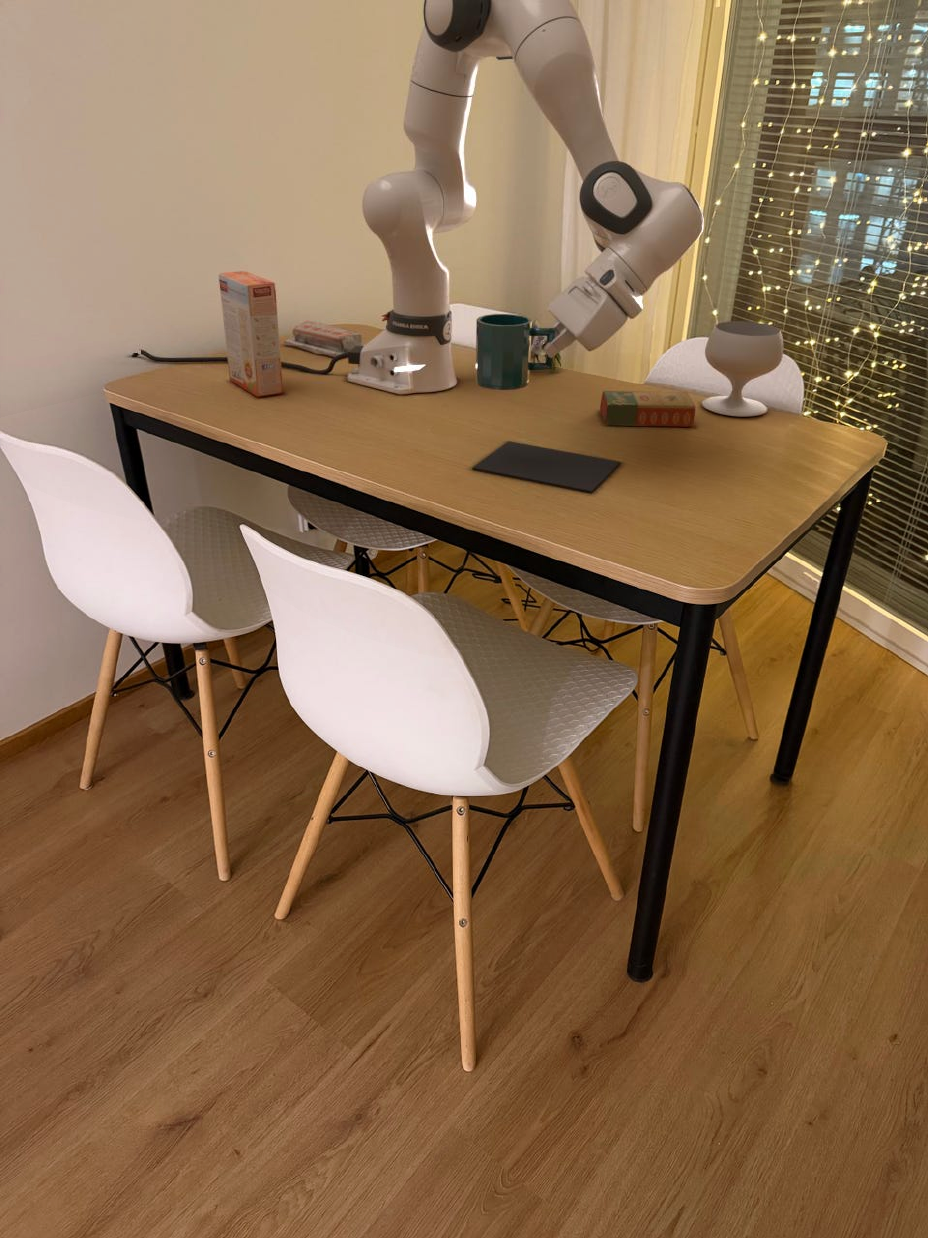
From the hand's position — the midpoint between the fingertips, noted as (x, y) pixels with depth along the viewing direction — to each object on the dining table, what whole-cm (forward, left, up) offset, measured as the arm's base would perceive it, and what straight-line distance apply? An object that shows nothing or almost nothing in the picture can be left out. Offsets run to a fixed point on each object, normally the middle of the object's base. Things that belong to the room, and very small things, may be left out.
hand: (544, 351), depth 140 cm
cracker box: (-65, +10, -18) cm, 68 cm away
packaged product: (-70, +42, -18) cm, 83 cm away
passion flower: (-23, +51, -18) cm, 59 cm away
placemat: (+2, -2, -18) cm, 18 cm away
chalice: (+22, +44, -18) cm, 52 cm away
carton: (+9, +29, -18) cm, 35 cm away
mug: (-4, -3, -5) cm, 6 cm away
